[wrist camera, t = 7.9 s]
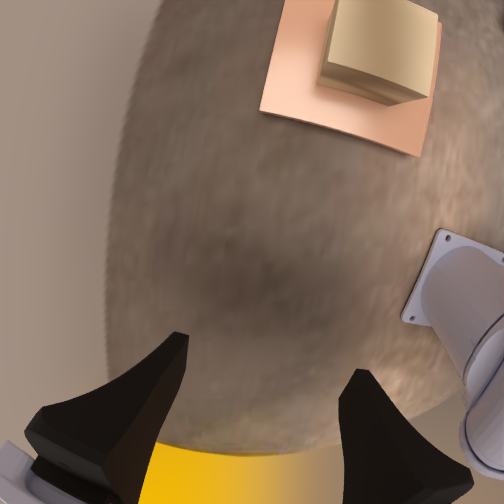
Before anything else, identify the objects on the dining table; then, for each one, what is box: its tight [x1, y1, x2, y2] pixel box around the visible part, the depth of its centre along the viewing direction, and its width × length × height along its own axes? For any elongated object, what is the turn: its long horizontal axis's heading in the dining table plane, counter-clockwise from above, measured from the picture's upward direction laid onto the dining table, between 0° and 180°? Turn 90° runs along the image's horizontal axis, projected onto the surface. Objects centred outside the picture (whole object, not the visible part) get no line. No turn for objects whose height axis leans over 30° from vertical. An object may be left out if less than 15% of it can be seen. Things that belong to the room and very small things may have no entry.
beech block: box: [316, 0, 438, 106], centre depth 11 cm, size 4×4×6 cm
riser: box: [260, 0, 442, 158], centre depth 14 cm, size 10×10×2 cm
